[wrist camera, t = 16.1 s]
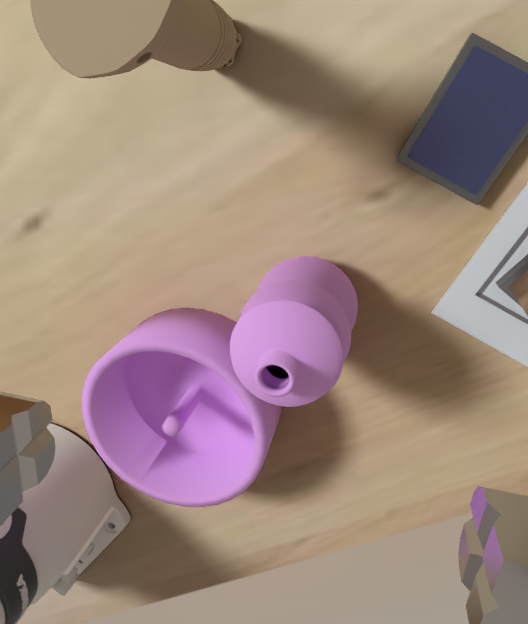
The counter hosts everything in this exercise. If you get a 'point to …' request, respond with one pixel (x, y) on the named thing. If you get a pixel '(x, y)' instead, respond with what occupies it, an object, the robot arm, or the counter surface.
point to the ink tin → (472, 121)
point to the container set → (218, 384)
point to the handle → (135, 34)
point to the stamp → (516, 283)
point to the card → (492, 287)
